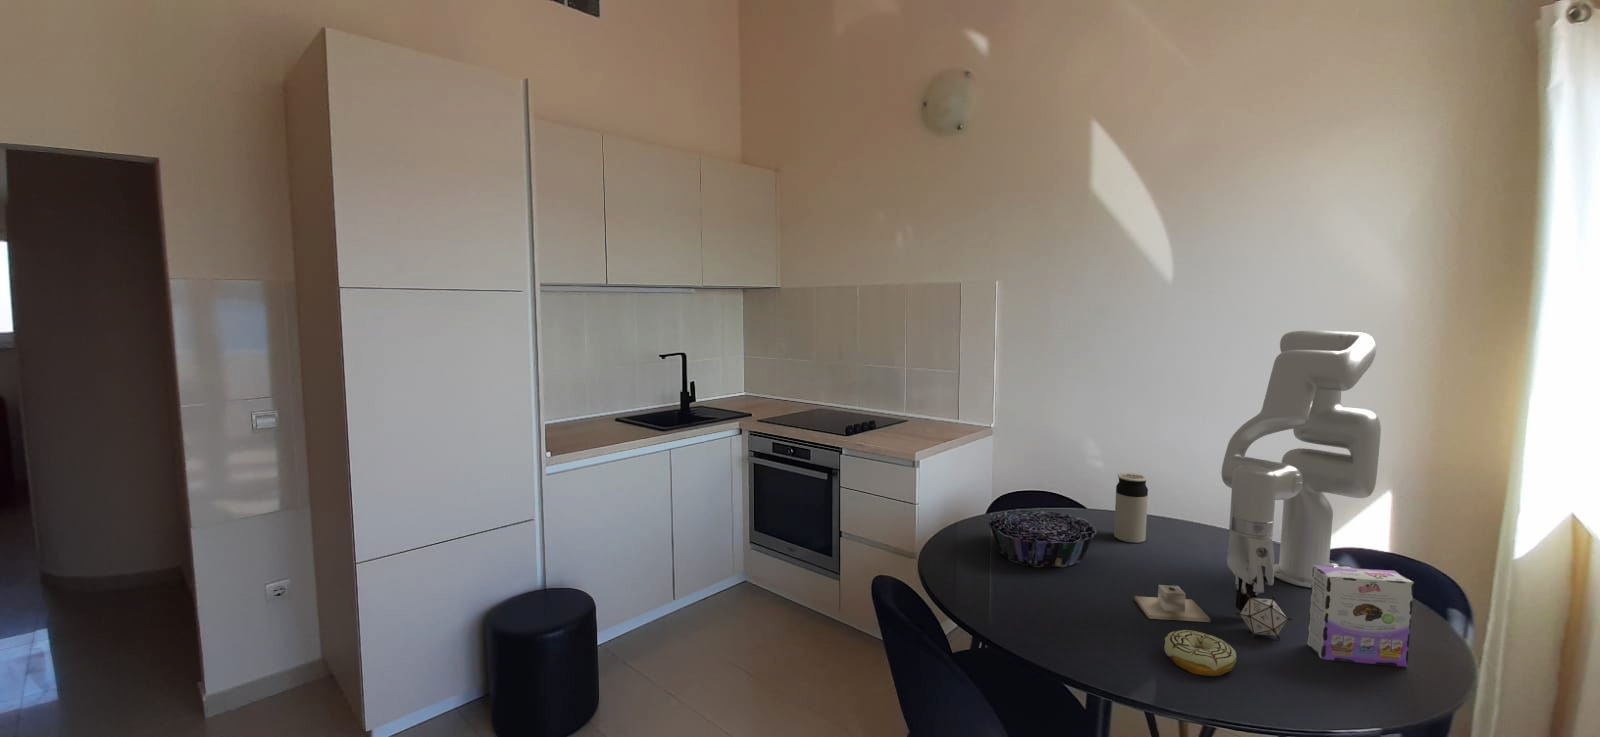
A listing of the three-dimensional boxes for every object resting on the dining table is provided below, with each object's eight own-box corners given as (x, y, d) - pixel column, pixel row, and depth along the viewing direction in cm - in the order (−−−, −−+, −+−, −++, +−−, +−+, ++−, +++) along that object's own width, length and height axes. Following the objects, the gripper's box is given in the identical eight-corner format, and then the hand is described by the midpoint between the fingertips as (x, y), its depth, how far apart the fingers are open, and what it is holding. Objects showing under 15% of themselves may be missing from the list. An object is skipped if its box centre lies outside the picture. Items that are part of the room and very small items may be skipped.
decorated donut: (1155, 662, 125) (1156, 642, 124) (1175, 640, 133) (1176, 620, 132) (1225, 687, 117) (1226, 665, 116) (1241, 661, 125) (1243, 640, 124)
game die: (1270, 657, 132) (1289, 634, 126) (1224, 630, 137) (1241, 607, 130) (1284, 625, 137) (1304, 601, 130) (1240, 600, 141) (1257, 576, 135)
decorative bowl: (979, 542, 191) (977, 509, 190) (1076, 536, 190) (1075, 502, 189) (1003, 580, 166) (1001, 541, 165) (1116, 572, 164) (1114, 533, 164)
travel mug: (1150, 543, 184) (1154, 480, 182) (1122, 543, 184) (1124, 480, 182) (1136, 533, 192) (1139, 472, 190) (1109, 533, 192) (1111, 472, 190)
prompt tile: (1191, 602, 148) (1192, 581, 148) (1210, 622, 139) (1211, 599, 139) (1134, 599, 150) (1135, 578, 150) (1149, 618, 141) (1150, 596, 141)
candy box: (1388, 652, 127) (1395, 569, 126) (1408, 668, 122) (1416, 582, 120) (1305, 644, 131) (1311, 563, 129) (1321, 660, 125) (1328, 575, 123)
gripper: (1291, 539, 131) (1284, 628, 133) (1252, 515, 146) (1247, 595, 147) (1249, 537, 132) (1243, 625, 134) (1215, 513, 147) (1210, 593, 149)
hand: (1245, 609), depth 141 cm, fingers closed
